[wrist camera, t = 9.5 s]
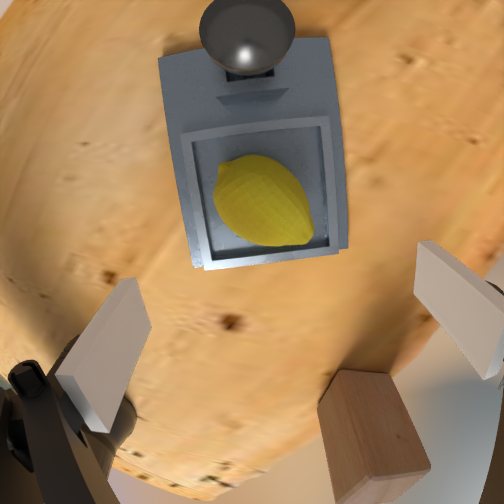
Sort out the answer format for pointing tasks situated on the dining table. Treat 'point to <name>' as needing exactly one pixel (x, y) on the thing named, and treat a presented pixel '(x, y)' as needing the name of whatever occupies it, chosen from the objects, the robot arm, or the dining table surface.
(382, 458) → the wooden block
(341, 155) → the base
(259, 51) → the ball
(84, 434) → the robot arm
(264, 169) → the lemon
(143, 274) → the dining table surface
